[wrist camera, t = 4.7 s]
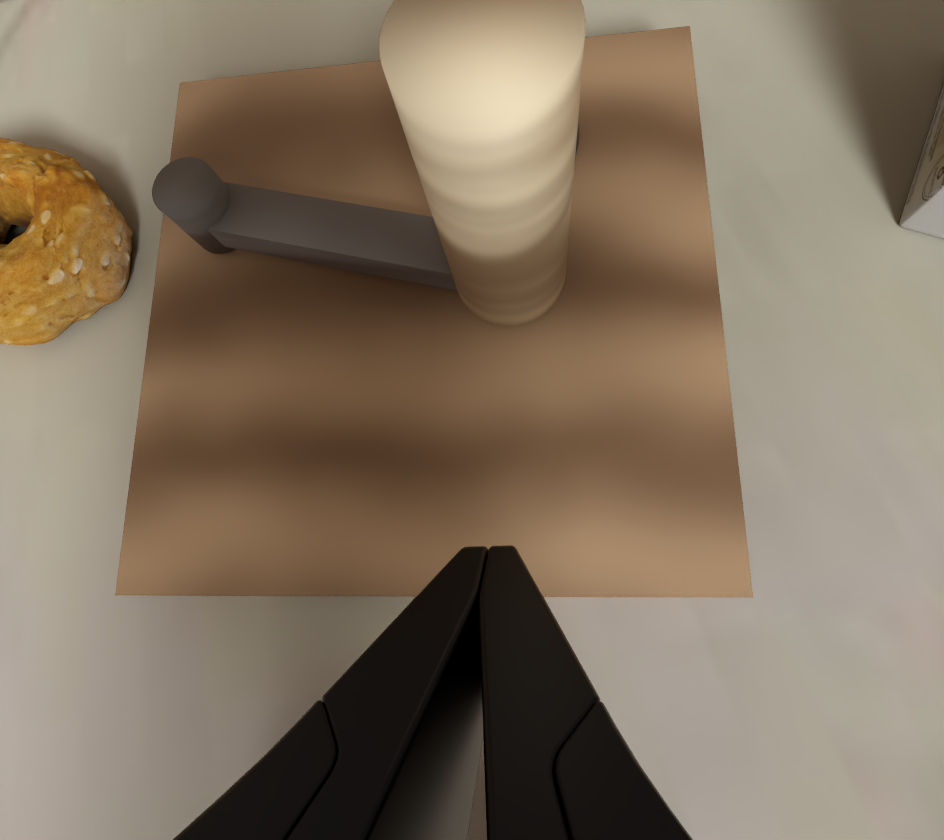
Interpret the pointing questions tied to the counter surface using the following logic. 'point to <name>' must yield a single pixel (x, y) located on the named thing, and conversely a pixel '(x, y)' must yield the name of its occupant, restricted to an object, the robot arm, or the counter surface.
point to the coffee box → (928, 182)
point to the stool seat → (440, 367)
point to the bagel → (55, 244)
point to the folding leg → (438, 163)
